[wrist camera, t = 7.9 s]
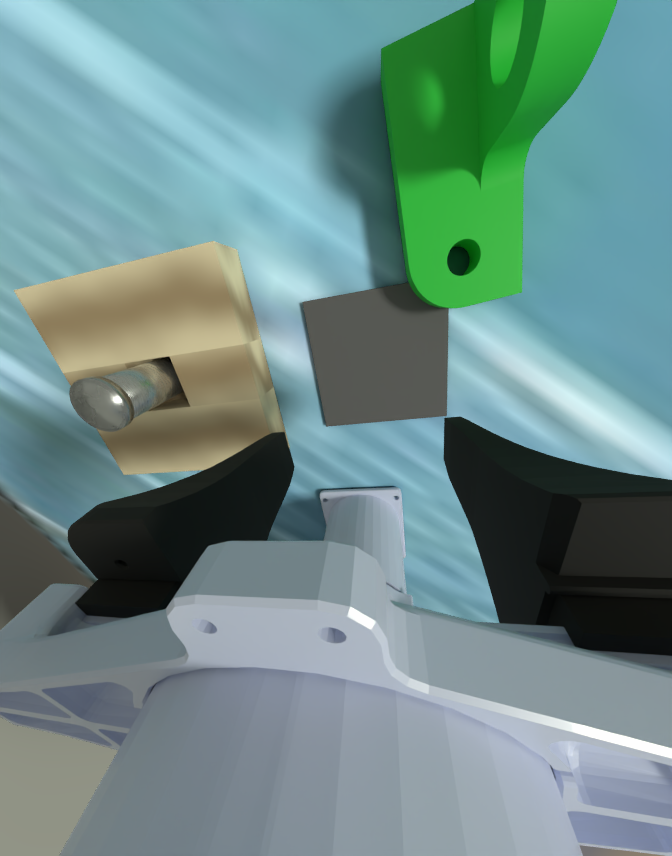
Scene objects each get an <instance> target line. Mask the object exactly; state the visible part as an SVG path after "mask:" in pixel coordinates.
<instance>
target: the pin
mask: <svg viewBox="0 0 672 856" xmlns="http://www.w3.org/2000/svg"><path fill="white" fill-rule="evenodd" d="M182 392H184V390H183V388H182V385H181V383H180V381H179V378H178V376H177V373H176V371H175V369H174V366H173V364H172V361H171V359H170V357H169V356H167V357H163V358H160V359H157V360H154V361H151V362H147V363H144V364H141V365H138V366H135V367H131V368H128V369H125V370H122V371H119V372H115V373H112V374H109V375H106V376H103V377H100V376H90V377H87V378H83V379H80V380H77V381H76V382H74V383H73V384H72V386H71V388H70V400H71V403H72V405H73V407H74V409H75V410H76V412H77V413H78V415H79V416H80V417H81V418H82V419H83V420H84V421H86V422H87V423H88V424H90V425H91V426H93V427H95V428H97V429H99V430H102V431H107V432H115V431H118V430H120V429H122V428H124V427H126V426H127V425H129V424H130V423H131V422H132V420H133V418H135V417H137V416H139V415H141V414H143V413H145V412H146V411H148V410H150V409H152V408H154V407H156V406H158V405H160V404H161V403H163V402H165V401H167V400H169V399H171V398H173V397H175V396H176V395H178V394H180V393H182Z"/></svg>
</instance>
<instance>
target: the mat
mask: <svg viewBox="0 0 672 856" xmlns="http://www.w3.org/2000/svg"><path fill="white" fill-rule="evenodd" d="M303 308H304V313H305V318H306V323H307V328H308V334H309V339H310V344H311V349H312V354H313V359H314V365H315V370H316V375H317V380H318V385H319V391H320V396H321V401H322V406H323V411H324V417H325V422H326V426H337V425H348V424H360V423H371V422H382V421H394V420H405V419H416V418H428V417H439V416H447V365H448V308H439V307H434V306H431V305H429V304H427V303H425V302H424V301H422V300H421V299H420V298H419V297H418V296H417V295H416V294H415V293H414V291H413V290H412V288H411V286H410V284H409V283H404V284H398V285H393V286H387V287H382V288H376V289H371V290H366V291H360V292H355V293H349V294H344V295H338V296H333V297H328V298H322V299H317V300H311V301H306V302H303Z"/></svg>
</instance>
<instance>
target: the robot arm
mask: <svg viewBox="0 0 672 856" xmlns="http://www.w3.org/2000/svg"><path fill="white" fill-rule="evenodd" d="M444 461H445V465H446V469H447V472H448V476H449V479H450V481H451V483H452V485H453V488H454V490H455V492H456V494H457V497H458V499H459V501H460V503H461V505H462V508H463V510H464V512H465V514H466V517H467V519H468V521H469V524H470V526H471V529H472V531H473V534H474V537H475V540H476V544H477V547H478V550H479V553H480V556H481V559H482V563H483V566H484V569H485V573H486V576H487V579H488V583H489V586H490V590H491V593H492V597H493V600H494V604H495V608H496V611H497V615H498V619H499V622H500V623H488V622H475V621H471V620H467V619H463V618H459V617H455V616H451V615H447V614H443V613H439V612H435V611H431V610H427V609H423V608H419V607H415V606H413V599H412V596H411V595H408V594H407V592H406V583H405V573H404V563H403V558H405V556H406V554H405V539H404V525H403V511H402V497H401V490H400V489H399V488H397V487H391V488H366V489H342V490H323V491H321V492H320V500H321V504H322V509H323V513H324V517H325V522H326V526H327V527H326V532H325V536H324V541H267V539H268V536H269V532H270V530H271V527H272V525H273V522H274V520H275V518H276V515H277V513H278V511H279V509H280V506H281V504H282V502H283V500H284V497H285V495H286V493H287V490H288V488H289V486H290V483H291V479H292V475H293V471H294V464H293V460H292V457H291V453H290V449H289V446H288V442H287V439H286V435H285V432H275V433H271V434H268V435H266V436H265V437H263V438H261V439H259V440H258V441H256V442H254V443H253V444H251V445H249V446H248V447H246V448H244V449H243V450H241V451H239V452H238V453H236V454H234V455H232V456H231V457H229V458H227V459H225V460H224V461H222V462H220V463H218V464H216V465H214V466H212V467H210V468H208V469H206V470H204V471H201V472H199V473H197V474H195V475H192V476H190V477H187V478H184V479H182V480H179V481H177V482H174V483H172V484H169V485H166V486H163V487H160V488H157V489H153V490H150V491H147V492H143V493H140V494H136V495H132V496H128V497H124V498H120V499H116V500H112V501H108V502H104V503H101V504H99V505H97V506H96V507H94V508H93V509H92V510H90V511H89V512H88V513H86V514H85V515H84V516H82V517H81V518H80V519H79V520H77V521H76V522H75V523H73V524H72V525H71V526H70V528H69V530H68V541H69V544H70V546H71V548H72V549H73V551H74V552H75V553H76V555H77V556H78V557H79V558H80V559H81V560H82V562H83V563H84V564H85V565H86V566H87V567H88V569H89V570H90V571H91V572H92V573H93V574H94V575H95V577H96V578H97V579H98V580H97V581H96V582H95V583H94V584H93V585H92V586H91V587H90V588H87V587H85V586H83V585H78V584H51V585H50V586H49V587H48V588H47V589H46V590H44V591H43V592H42V593H41V594H40V595H39V596H38V597H37V598H36V599H34V600H33V601H32V602H31V603H30V604H29V605H28V606H27V607H26V608H25V609H23V610H22V611H21V612H20V613H19V614H18V615H17V616H16V617H14V619H12V620H11V621H10V622H9V623H8V624H7V625H6V626H5V627H3V628H2V629H1V630H0V717H1V718H3V719H5V720H7V721H8V722H10V723H12V724H14V725H17V726H23V727H27V728H32V729H37V730H42V731H47V732H51V733H55V734H59V735H63V736H67V737H71V738H75V739H79V740H82V741H86V742H90V743H94V744H97V745H101V746H104V747H108V748H111V749H116V750H118V752H117V754H116V755H115V757H114V759H113V761H112V762H111V764H110V766H109V768H108V770H107V771H106V773H105V775H104V777H103V778H102V780H101V782H100V784H99V786H98V787H97V789H96V791H95V793H94V795H93V796H92V798H91V800H90V802H89V804H88V805H87V807H86V809H85V810H84V812H83V814H82V816H81V818H80V820H79V821H78V823H77V825H76V827H75V828H74V830H73V832H72V834H71V835H70V837H69V839H68V841H67V843H66V844H65V846H64V848H63V850H62V851H61V853H60V855H59V856H583V854H582V852H581V849H580V846H579V845H584V846H592V847H600V848H609V849H617V850H625V851H633V852H641V853H650V854H658V855H666V856H672V480H668V479H661V478H654V477H647V476H641V475H634V474H628V473H622V472H617V471H612V470H607V469H602V468H597V467H592V466H588V465H583V464H579V463H575V462H572V461H568V460H564V459H560V458H557V457H553V456H550V455H547V454H544V453H541V452H538V451H535V450H532V449H529V448H526V447H524V446H521V445H519V444H516V443H514V442H511V441H509V440H507V439H505V438H502V437H500V436H498V435H496V434H494V433H492V432H490V431H488V430H486V429H484V428H482V427H480V426H478V425H476V424H474V423H473V422H471V421H469V420H467V419H465V418H462V417H451V418H445V423H444ZM394 496H398V497H394ZM324 498H326V499H327V500H325V499H324Z"/></svg>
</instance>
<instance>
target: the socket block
mask: <svg viewBox="0 0 672 856" xmlns="http://www.w3.org/2000/svg"><path fill="white" fill-rule="evenodd" d="M14 292H15V293H16V295H17V297H18V298H19V300H20V302H21V303H22V305H23V307H24V308H25V310H26V312H27V313H28V315H29V317H30V318H31V320H32V322H33V323H34V325H35V327H36V328H37V330H38V332H39V333H40V335H41V337H42V338H43V340H44V342H45V343H46V345H47V347H48V348H49V350H50V352H51V353H52V355H53V357H54V358H55V360H56V362H57V364H58V365H59V367H60V369H61V370H62V372H63V374H64V375H65V377H66V379H67V380H68V382H69V384H70V385H71V386H72V384H73V383H74V382H76V381H77V380H80V379H83V378H87V377H90V376H100V377H103V376H106V375H109V374H112V373H115V372H119V371H122V370H125V369H128V368H131V367H135V366H138V365H141V364H144V363H147V362H151V361H154V360H157V359H160V358H163V357H167V356H169V357H170V359H171V361H172V364H173V366H174V369H175V371H176V373H177V376H178V378H179V381H180V383H181V385H182V388H183V390H184V392H182V393H180V394H178V395H176V396H175V397H173V398H171V399H169V400H167V401H165V402H163V403H161V404H160V405H158V406H156V407H154V408H152V409H150V410H148V411H146V412H145V413H143V414H141V415H139V416H137V417H135V418H133V420H132V422H131V423H130V424H129V425H127V426H126V427H124V428H122V429H120V430H118V431H115V432H107V431H102V430H99V429H97V428H96V429H97V430H98V432H99V434H100V435H101V437H102V439H103V440H104V442H105V444H106V445H107V447H108V449H109V450H110V452H111V454H112V455H113V457H114V459H115V460H116V462H117V464H118V466H119V467H120V469H121V471H122V472H123V474H124V475H130V474H146V473H162V472H179V471H195V470H206V469H208V468H210V467H212V466H214V465H216V464H218V463H220V462H222V461H224V460H225V459H227V458H229V457H231V456H232V455H234V454H236V453H238V452H239V451H241V450H243V449H244V448H246V447H248V446H249V445H251V444H253V443H254V442H256V441H258V440H259V439H261V438H263V437H265V436H266V435H268V434H271V433H275V432H285V428H284V424H283V420H282V417H281V413H280V409H279V406H278V402H277V398H276V394H275V391H274V387H273V383H272V379H271V376H270V372H269V368H268V364H267V361H266V357H265V353H264V349H263V346H262V342H261V338H260V334H259V331H258V327H257V323H256V319H255V316H254V312H253V308H252V304H251V301H250V297H249V293H248V289H247V286H246V282H245V278H244V274H243V271H242V267H241V263H240V259H239V256H238V252H237V249H234V248H231V247H228V246H226V245H223V244H220V243H217V242H214V241H212V242H208V243H204V244H200V245H195V246H191V247H187V248H183V249H179V250H175V251H171V252H167V253H163V254H159V255H155V256H151V257H147V258H143V259H139V260H135V261H131V262H127V263H123V264H119V265H115V266H111V267H106V268H102V269H98V270H94V271H90V272H86V273H82V274H78V275H74V276H70V277H66V278H62V279H58V280H54V281H50V282H46V283H42V284H38V285H34V286H30V287H26V288H22V289H17V290H14ZM285 435H286V432H285ZM286 439H287V435H286ZM287 442H288V439H287ZM288 446H289V443H288ZM289 448H290V447H289Z"/></svg>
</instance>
